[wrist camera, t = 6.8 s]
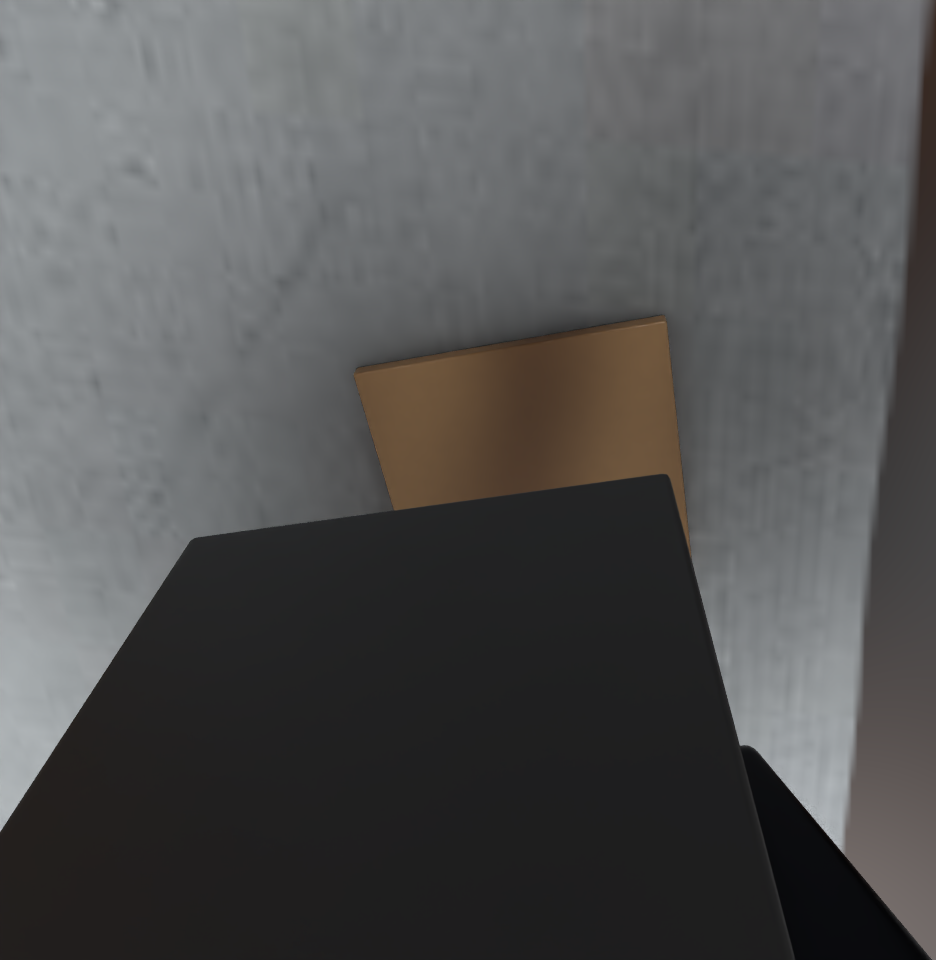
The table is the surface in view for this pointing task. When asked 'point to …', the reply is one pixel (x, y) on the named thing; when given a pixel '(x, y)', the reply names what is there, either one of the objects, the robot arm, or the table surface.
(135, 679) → the black rectangular block
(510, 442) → the coaster
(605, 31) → the table surface
